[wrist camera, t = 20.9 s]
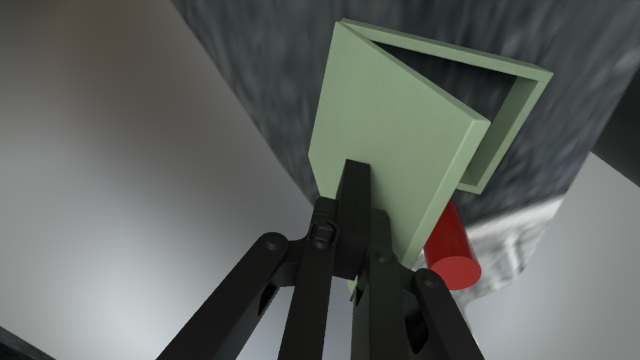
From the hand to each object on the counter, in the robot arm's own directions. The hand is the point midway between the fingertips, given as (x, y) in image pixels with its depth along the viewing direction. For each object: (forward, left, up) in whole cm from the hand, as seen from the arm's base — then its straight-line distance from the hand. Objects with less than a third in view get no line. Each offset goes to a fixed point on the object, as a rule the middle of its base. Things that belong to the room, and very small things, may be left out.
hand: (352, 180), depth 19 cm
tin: (-14, +13, -20) cm, 28 cm away
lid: (0, 0, -5) cm, 5 cm away
